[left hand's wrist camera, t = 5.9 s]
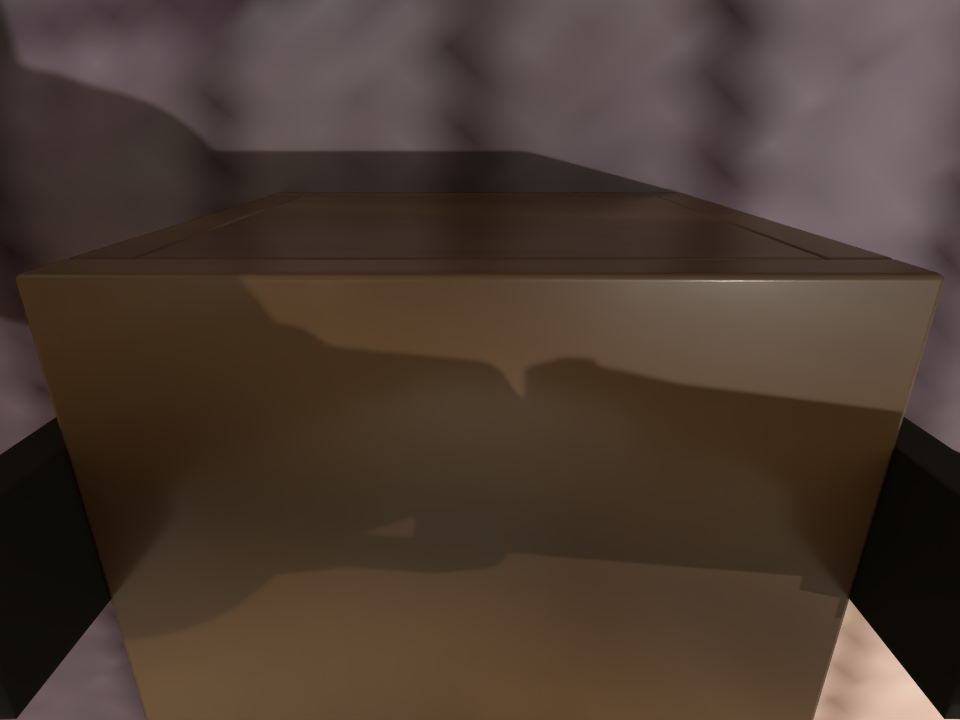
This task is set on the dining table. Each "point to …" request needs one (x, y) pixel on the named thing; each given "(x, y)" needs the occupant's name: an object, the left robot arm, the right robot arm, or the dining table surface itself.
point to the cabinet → (480, 452)
